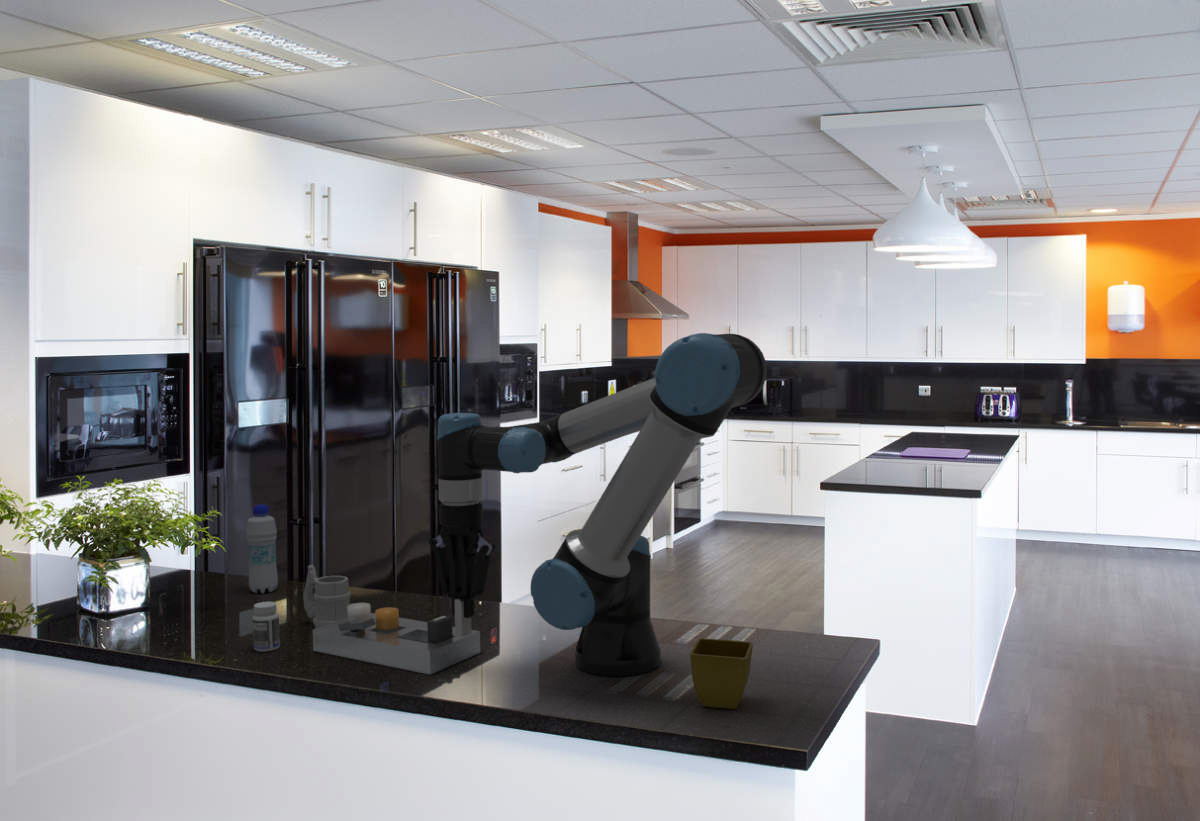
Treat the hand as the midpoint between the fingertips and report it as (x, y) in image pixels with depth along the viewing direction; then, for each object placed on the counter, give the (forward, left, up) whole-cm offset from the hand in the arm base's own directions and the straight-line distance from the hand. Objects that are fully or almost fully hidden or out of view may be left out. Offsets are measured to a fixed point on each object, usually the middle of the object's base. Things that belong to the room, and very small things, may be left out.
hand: (463, 634), depth 184 cm
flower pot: (-48, -5, -6) cm, 48 cm away
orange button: (+18, 0, -1) cm, 18 cm away
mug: (+40, -6, -6) cm, 41 cm away
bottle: (+74, -20, -6) cm, 77 cm away
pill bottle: (+39, +10, -6) cm, 40 cm away
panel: (+16, 0, -5) cm, 17 cm away
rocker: (+21, +5, 0) cm, 21 cm away
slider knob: (+5, 0, -3) cm, 6 cm away
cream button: (+25, 0, -1) cm, 25 cm away
